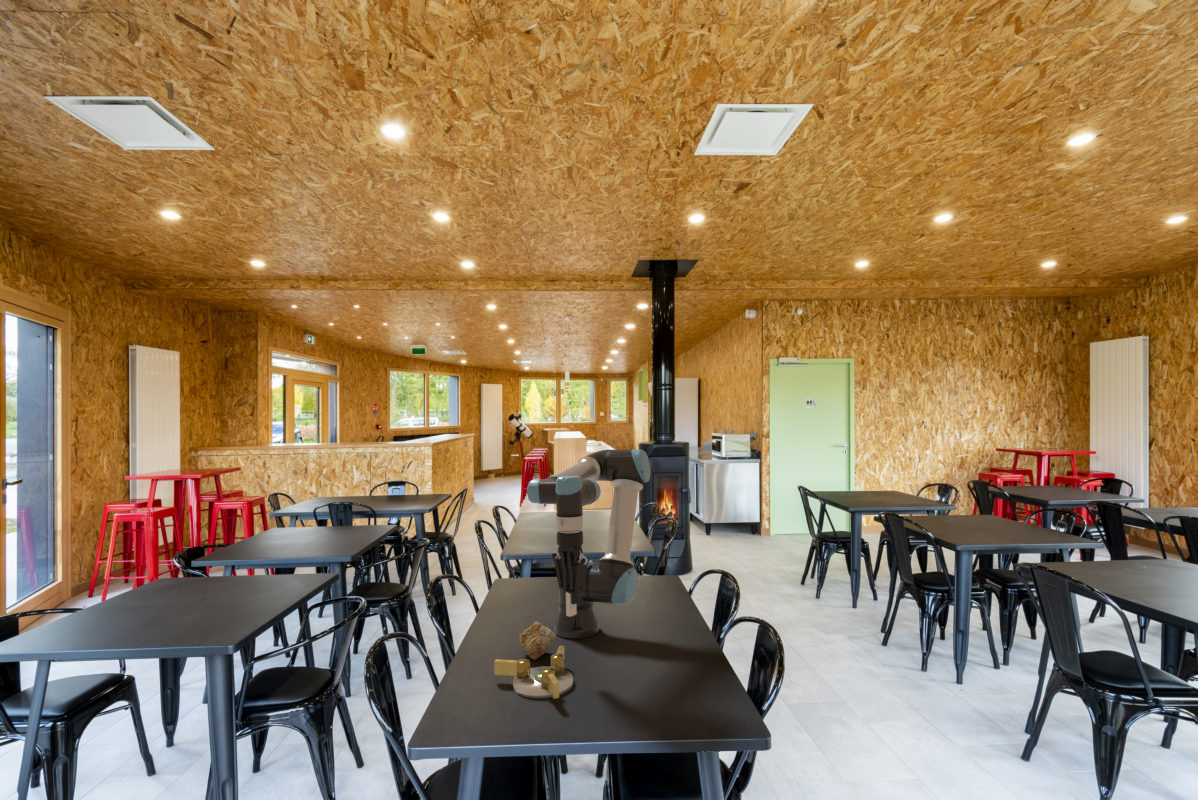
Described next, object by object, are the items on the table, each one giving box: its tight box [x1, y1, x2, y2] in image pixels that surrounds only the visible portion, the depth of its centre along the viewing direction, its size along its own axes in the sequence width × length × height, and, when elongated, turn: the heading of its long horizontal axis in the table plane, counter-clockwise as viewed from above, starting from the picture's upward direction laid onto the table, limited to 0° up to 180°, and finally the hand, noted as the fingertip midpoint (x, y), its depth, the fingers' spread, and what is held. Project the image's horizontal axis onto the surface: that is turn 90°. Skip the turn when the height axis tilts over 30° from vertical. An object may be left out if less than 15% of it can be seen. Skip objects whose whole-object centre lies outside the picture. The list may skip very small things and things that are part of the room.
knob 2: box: [541, 668, 560, 700], centre depth 146 cm, size 10×4×4 cm, turn 20°
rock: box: [518, 621, 557, 661], centre depth 174 cm, size 12×10×10 cm
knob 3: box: [550, 645, 565, 674], centre depth 162 cm, size 10×4×4 cm, turn 175°
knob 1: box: [493, 658, 531, 679], centre depth 156 cm, size 10×4×4 cm, turn 80°
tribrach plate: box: [512, 665, 574, 700], centre depth 154 cm, size 16×16×3 cm
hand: (571, 614), depth 163 cm, fingers closed
